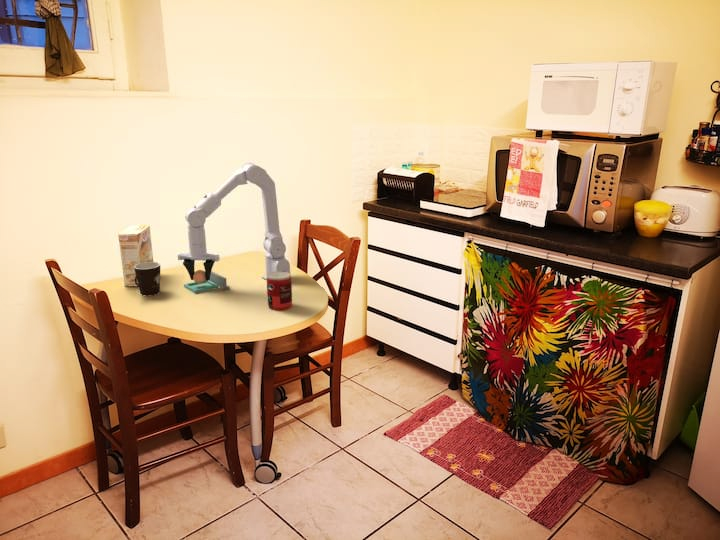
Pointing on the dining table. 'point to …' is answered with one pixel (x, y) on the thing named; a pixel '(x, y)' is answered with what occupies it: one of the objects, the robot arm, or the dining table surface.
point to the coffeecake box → (134, 250)
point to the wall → (218, 280)
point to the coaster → (200, 286)
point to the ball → (199, 277)
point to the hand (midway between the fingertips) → (200, 279)
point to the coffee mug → (148, 277)
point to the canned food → (279, 290)
